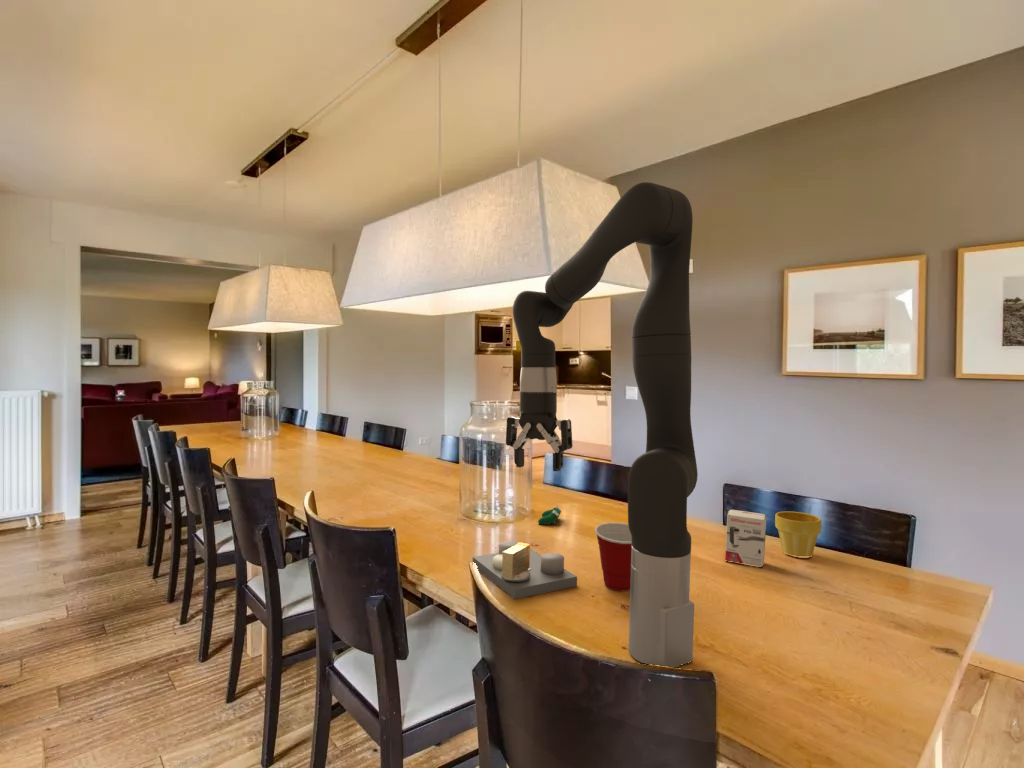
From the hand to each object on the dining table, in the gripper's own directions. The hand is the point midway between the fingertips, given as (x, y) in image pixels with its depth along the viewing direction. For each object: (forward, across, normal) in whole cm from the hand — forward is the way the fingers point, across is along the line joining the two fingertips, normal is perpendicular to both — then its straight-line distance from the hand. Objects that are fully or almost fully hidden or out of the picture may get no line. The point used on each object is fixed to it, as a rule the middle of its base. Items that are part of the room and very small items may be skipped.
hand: (538, 468), depth 111 cm
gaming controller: (+25, -21, +46) cm, 56 cm away
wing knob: (+23, -4, -2) cm, 23 cm away
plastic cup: (+26, +13, +11) cm, 31 cm away
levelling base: (+25, -7, +5) cm, 26 cm away
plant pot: (+26, +44, +56) cm, 76 cm away
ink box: (+26, +34, +42) cm, 60 cm away
